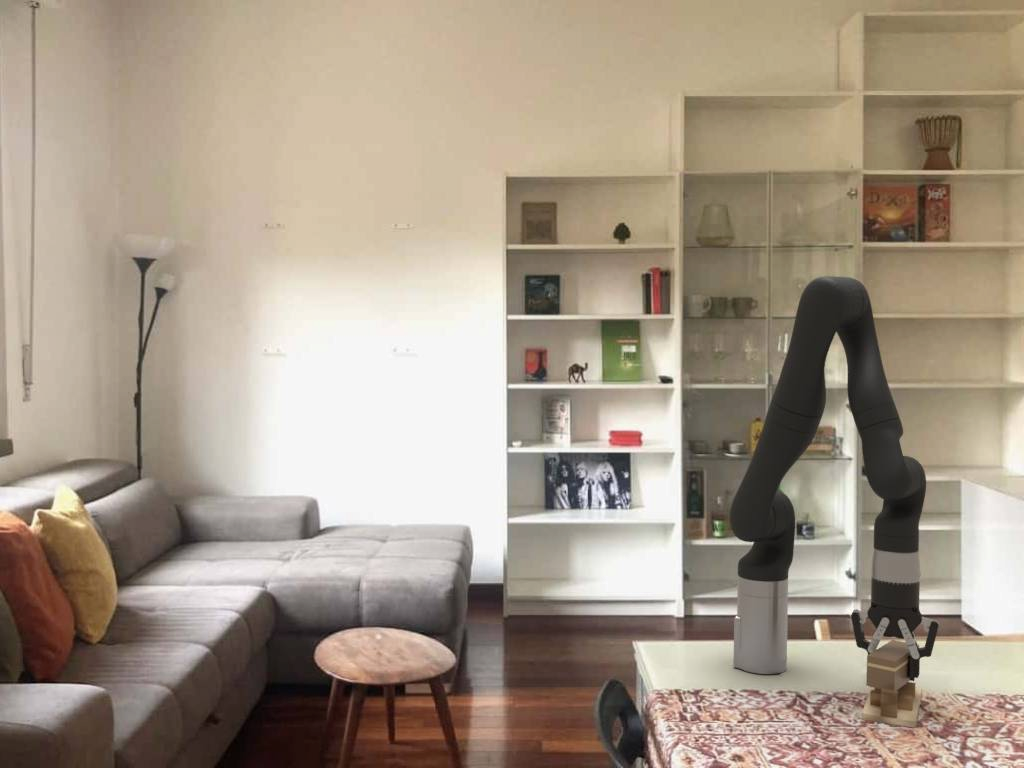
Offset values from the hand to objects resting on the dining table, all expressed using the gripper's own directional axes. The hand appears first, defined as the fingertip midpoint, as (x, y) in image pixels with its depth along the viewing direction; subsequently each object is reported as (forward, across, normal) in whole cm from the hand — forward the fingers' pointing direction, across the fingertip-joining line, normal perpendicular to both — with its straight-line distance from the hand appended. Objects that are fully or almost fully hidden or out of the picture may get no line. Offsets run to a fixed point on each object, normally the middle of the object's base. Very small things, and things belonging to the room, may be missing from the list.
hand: (893, 676), depth 163 cm
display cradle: (+5, 0, 0) cm, 5 cm away
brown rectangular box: (+1, 0, 0) cm, 1 cm away
